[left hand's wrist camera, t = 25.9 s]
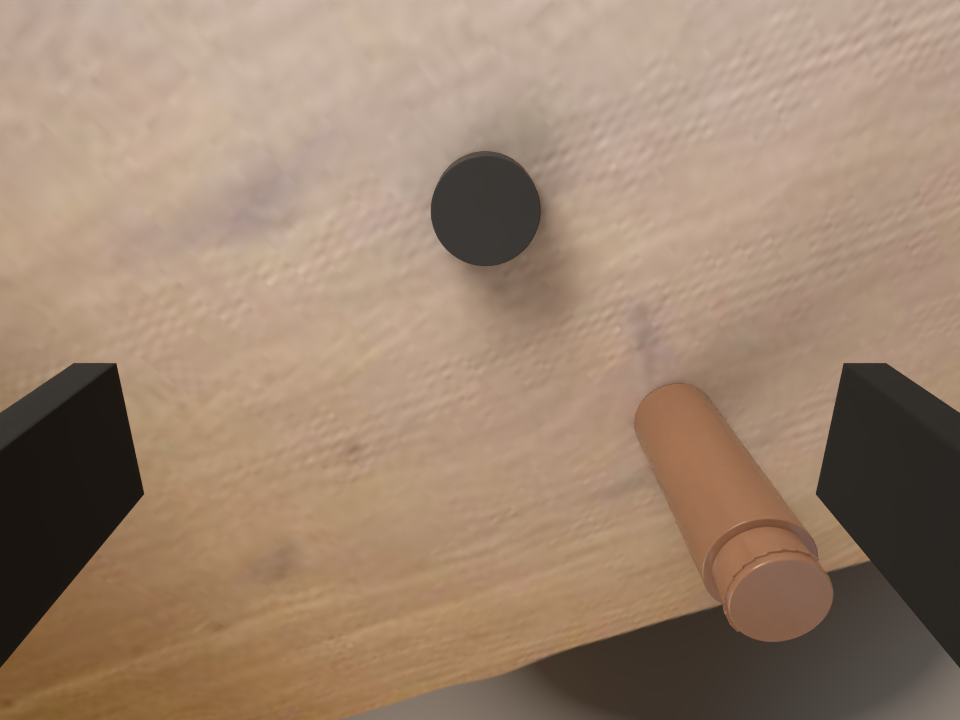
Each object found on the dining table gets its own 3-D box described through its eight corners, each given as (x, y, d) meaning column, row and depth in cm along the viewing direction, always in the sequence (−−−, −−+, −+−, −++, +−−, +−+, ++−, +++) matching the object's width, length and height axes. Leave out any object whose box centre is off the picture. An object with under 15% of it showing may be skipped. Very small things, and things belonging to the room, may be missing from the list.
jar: (683, 367, 40) (801, 528, 26) (730, 422, 42) (867, 606, 27) (618, 416, 42) (694, 597, 27) (665, 468, 43) (762, 668, 28)
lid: (427, 247, 38) (424, 257, 36) (440, 143, 36) (438, 147, 34) (527, 262, 38) (530, 273, 36) (545, 159, 36) (549, 164, 34)
